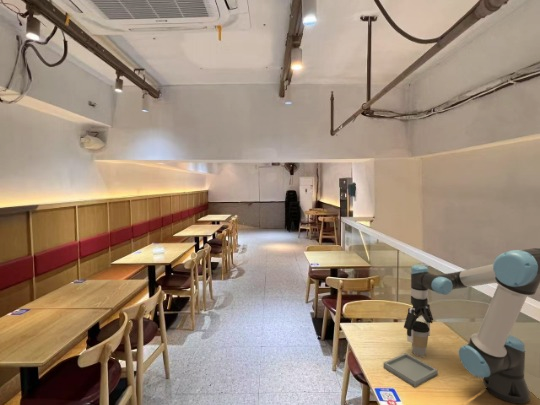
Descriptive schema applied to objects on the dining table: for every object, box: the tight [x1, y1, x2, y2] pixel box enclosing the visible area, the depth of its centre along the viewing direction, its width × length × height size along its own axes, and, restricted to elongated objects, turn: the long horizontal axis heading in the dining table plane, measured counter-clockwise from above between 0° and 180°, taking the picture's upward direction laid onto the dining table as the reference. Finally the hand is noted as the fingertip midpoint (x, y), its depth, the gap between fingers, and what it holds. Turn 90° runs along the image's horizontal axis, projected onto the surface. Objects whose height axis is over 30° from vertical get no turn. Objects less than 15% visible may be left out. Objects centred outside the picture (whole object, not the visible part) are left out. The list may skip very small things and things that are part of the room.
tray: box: [382, 352, 439, 388], centre depth 135 cm, size 16×16×2 cm
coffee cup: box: [411, 320, 431, 358], centre depth 149 cm, size 9×9×15 cm
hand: (418, 338), depth 149 cm, fingers open, 13 cm apart
